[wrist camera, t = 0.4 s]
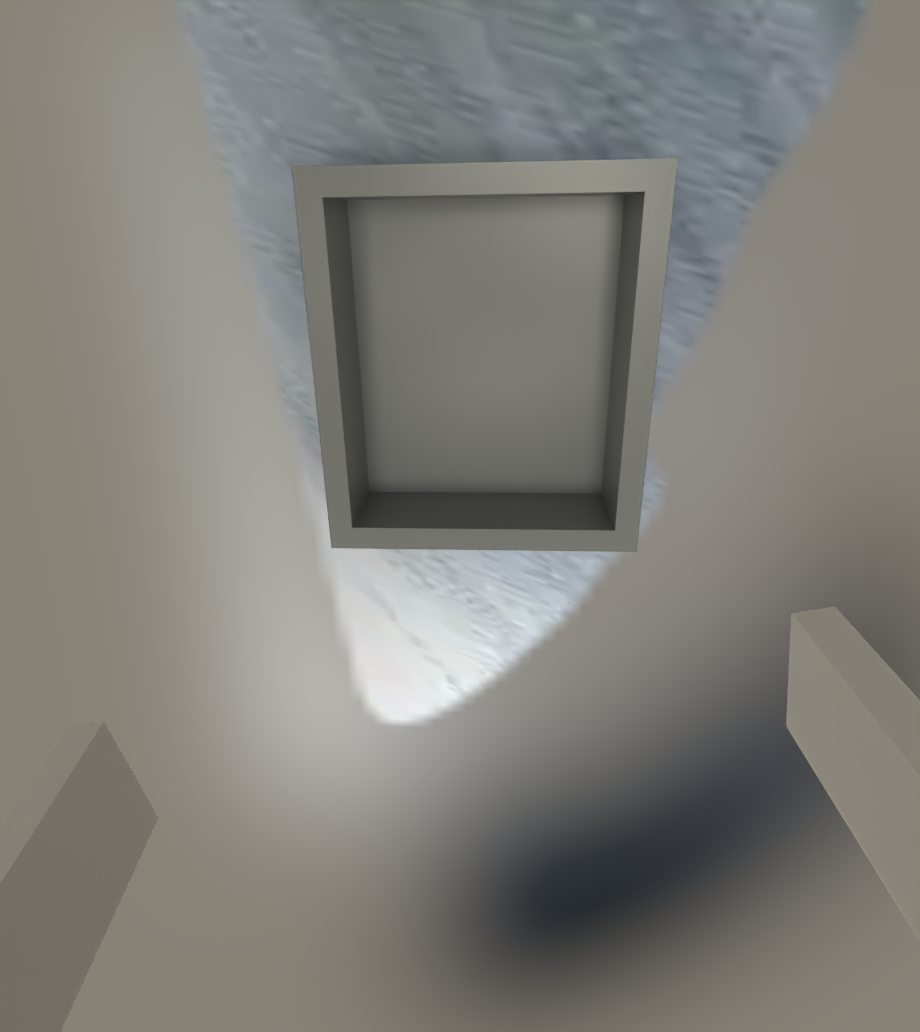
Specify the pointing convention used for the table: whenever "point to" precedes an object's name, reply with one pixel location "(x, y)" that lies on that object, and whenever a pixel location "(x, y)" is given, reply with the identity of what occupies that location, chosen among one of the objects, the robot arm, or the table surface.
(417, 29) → the table surface
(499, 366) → the crate
